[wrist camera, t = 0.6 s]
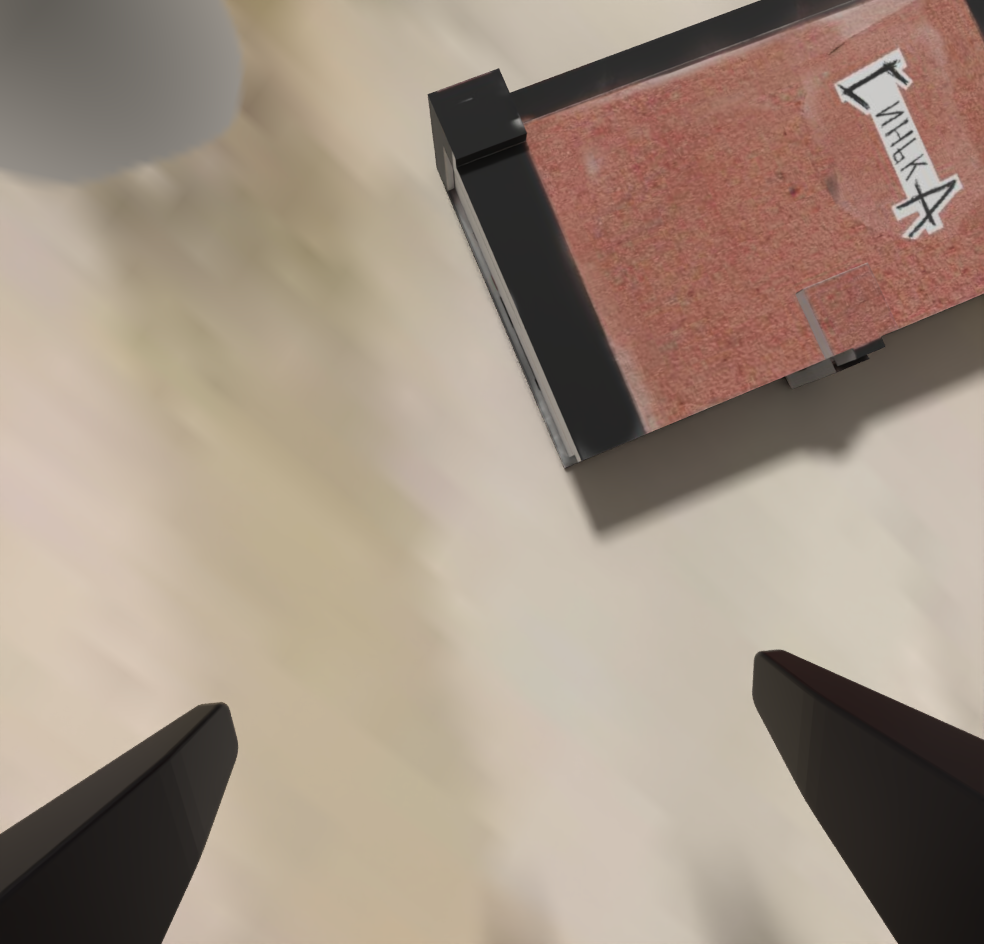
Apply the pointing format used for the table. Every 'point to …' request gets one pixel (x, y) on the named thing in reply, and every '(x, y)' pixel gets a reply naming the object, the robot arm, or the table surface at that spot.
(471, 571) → the table surface
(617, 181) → the book
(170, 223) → the table surface
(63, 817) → the robot arm
